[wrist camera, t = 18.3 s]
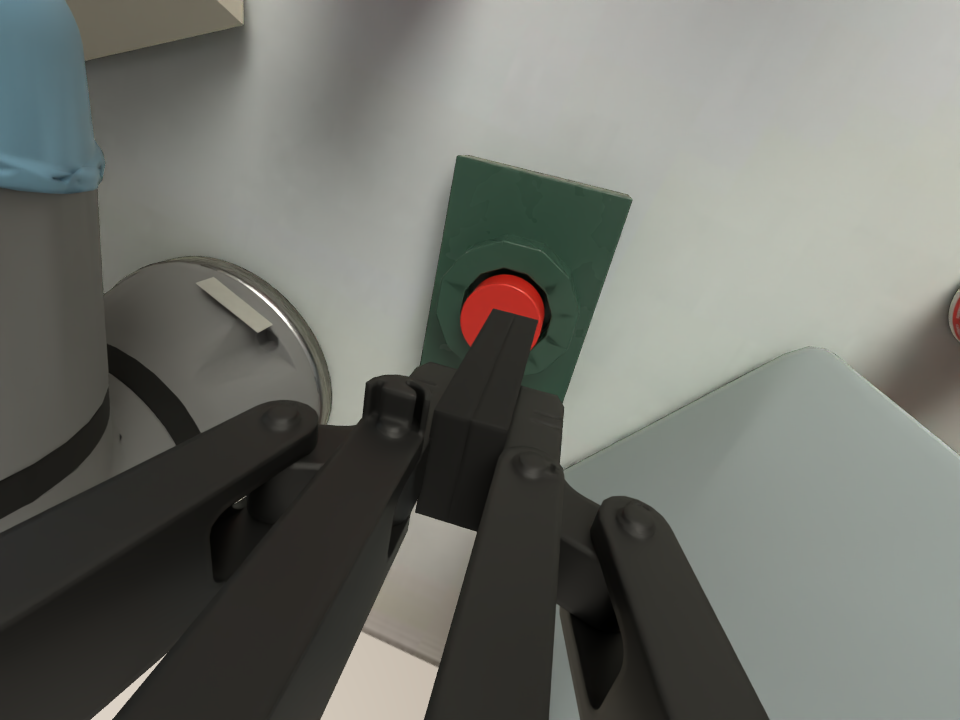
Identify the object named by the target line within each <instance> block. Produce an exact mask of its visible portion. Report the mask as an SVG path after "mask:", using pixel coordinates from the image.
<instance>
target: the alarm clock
mask: <svg viewBox="0 0 960 720" xmlns="http://www.w3.org/2000/svg"><path fill="white" fill-rule="evenodd" d="M563 472H564V476H565V478H564V479H565V480H566V481H567V483H568V484H569V485H570V486H571V487H572V488H573V489H574V490H576V491H577V492H578V493H580V494H581V495H583V496H585V497H586V498H588V499H590V500H592V501H594V502H595V503H597V504H599V505H601V504H602V502H603V500H605V499H607V498H609V497H611V496H627V497H631V498H634V499H638V500H640V501H642V502H644V503H646V504H647V505H649V506H651V507H652V508H654V509H655V510H656V511H657V512H658V513H660V514H661V515H662V516H663V517H664V518H665V520H666V521H667V523H668V524H669V525H670V527H671V529H672V530H673V532H674V534H675V536H676V538H677V540H678V542H679V544H680V546H681V548H682V550H683V552H684V554H685V556H686V558H687V560H688V562H689V564H690V565H691V567H692V569H693V571H694V573H695V575H696V577H697V579H698V581H699V583H700V585H701V587H702V589H703V591H704V593H705V595H706V597H707V599H708V600H709V602H710V604H711V606H712V608H713V610H714V612H715V614H716V616H717V618H718V620H719V622H720V624H721V626H722V628H723V630H724V632H725V634H726V635H727V637H728V639H729V641H730V643H731V645H732V647H733V649H734V651H735V653H736V655H737V657H738V659H739V661H740V663H741V665H742V667H743V669H744V670H745V672H746V674H747V676H748V678H749V680H750V682H751V684H752V686H753V688H754V690H755V692H756V694H757V696H758V698H759V700H760V702H761V704H762V705H763V707H764V709H765V711H766V713H767V715H768V717H769V719H770V720H960V455H959V454H957V453H956V452H955V451H954V450H952V449H951V448H950V447H949V446H948V445H946V444H945V443H944V442H943V441H941V440H940V439H939V438H938V437H937V436H935V435H934V434H933V433H932V432H930V431H929V430H928V429H927V428H925V427H924V426H923V425H922V424H921V423H919V422H918V421H917V420H916V419H914V418H913V417H912V416H911V415H909V414H908V413H907V412H906V411H904V410H903V409H902V408H901V407H900V406H898V405H897V404H896V403H895V402H893V401H892V400H891V399H890V398H888V397H887V396H886V395H885V394H883V393H882V392H881V391H880V390H878V389H877V388H876V387H875V386H873V385H872V384H871V383H870V382H869V381H867V380H866V379H865V378H864V377H862V376H861V375H860V374H859V373H858V372H856V371H855V370H854V369H853V368H852V367H850V366H849V365H848V364H847V363H845V362H844V361H843V360H842V359H841V358H839V357H838V356H837V355H836V354H834V353H832V352H830V351H829V350H827V349H825V348H817V347H809V346H808V347H805V348H802V349H798V350H795V351H792V352H789V353H786V354H783V355H782V356H780V357H778V358H776V359H774V360H772V361H770V362H768V363H766V364H764V365H763V366H761V367H759V368H757V369H755V370H753V371H751V372H749V373H747V374H746V375H744V376H742V377H740V378H738V379H736V380H734V381H732V382H730V383H729V384H727V385H725V386H723V387H721V388H719V389H717V390H715V391H713V392H711V393H709V394H708V395H706V396H704V397H702V398H700V399H698V400H696V401H694V402H692V403H690V404H689V405H687V406H685V407H683V408H681V409H679V410H677V411H675V412H673V413H671V414H670V415H668V416H666V417H664V418H662V419H660V420H658V421H656V422H654V423H652V424H651V425H649V426H647V427H645V428H643V429H641V430H639V431H637V432H635V433H633V434H632V435H630V436H628V437H626V438H624V439H622V440H620V441H618V442H616V443H614V444H613V445H611V446H609V447H607V448H605V449H603V450H601V451H599V452H597V453H596V454H594V455H592V456H590V457H588V458H586V459H584V460H582V461H580V462H579V463H577V464H575V465H573V466H571V467H569V468H567V469H565V470H563ZM559 607H560V606H559V605H558V604H556V616H555V632H554V647H553V663H552V678H551V694H550V709H549V720H580V717H579V712H578V707H577V702H576V697H575V691H574V686H573V681H572V676H571V671H570V666H569V661H568V656H567V650H566V645H565V640H564V635H563V630H562V625H561V620H560V615H559Z"/></svg>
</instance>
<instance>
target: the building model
mask: <svg viewBox="0 0 960 720" xmlns="http://www.w3.org/2000/svg"><path fill="white" fill-rule="evenodd" d="M65 1H66V3H67V5H68V6H69V8H70V10H71V12H72V14H73V16H74V19H75V21H76V23H77V26H78V28H79V31H80V35H81V39H82V43H83V50H84V59H85V61H87V60H91V59H96V58H100V57H105V56H109V55H113V54H118V53H122V52H127V51H131V50H136V49H140V48H144V47H149V46H153V45H158V44H162V43H167V42H171V41H175V40H180V39H184V38H189V37H193V36H198V35H202V34H206V33H211V32H215V31H220V30H224V29H229V28H233V27H237V26H242V25H244V19H243V0H65Z"/></svg>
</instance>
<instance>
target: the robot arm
mask: <svg viewBox="0 0 960 720" xmlns="http://www.w3.org/2000/svg"><path fill="white" fill-rule="evenodd" d="M104 168H105V159H104V155H103V152H102V150H101V148H100V147H99V145H98V144H97V143H96V141H95V140H94V134H93V125H92V117H91V109H90V100H89V92H88V84H87V75H86V67H85V59H84V50H83V43H82V39H81V35H80V31H79V28H78V26H77V23H76V21H75V19H74V16H73V14H72V12H71V10H70V8H69V6H68V5H67V3H66V1H65V0H0V720H91V719H92V718H93V717H94V716H95V715H96V714H97V713H98V712H100V711H101V710H102V709H103V708H104V707H106V706H107V705H108V704H109V703H110V702H111V701H112V700H113V699H115V698H116V697H117V696H118V695H119V694H120V693H122V692H123V691H124V690H125V689H126V688H127V687H129V686H130V685H131V684H132V683H133V682H134V681H135V680H136V679H138V678H139V677H140V676H141V675H142V674H143V673H145V672H146V671H147V670H148V669H149V668H150V667H152V666H153V665H154V664H155V663H156V662H157V661H158V660H160V659H161V658H162V657H163V656H164V655H165V654H166V653H167V654H166V655H165V657H164V658H163V659H162V660H161V661H160V663H159V664H158V665H157V666H156V668H155V669H154V670H153V671H152V672H151V674H150V675H149V676H148V677H147V678H146V680H145V681H144V682H143V683H142V684H141V686H140V687H139V688H138V689H137V691H136V692H135V693H134V694H133V695H132V697H131V698H130V699H129V700H128V701H127V703H126V704H125V705H124V706H123V707H122V709H121V710H120V711H119V712H118V713H117V715H116V716H115V717H114V718H113V719H112V720H320V719H321V717H322V715H323V712H324V710H325V708H326V706H327V704H328V701H329V699H330V697H331V695H332V693H333V691H334V689H335V686H336V684H337V682H338V680H339V678H340V675H341V673H342V671H343V669H344V667H345V665H346V663H347V660H348V658H349V656H350V654H351V651H352V650H353V647H354V645H355V643H356V641H357V639H358V637H359V635H360V632H361V630H362V628H363V626H364V624H365V622H366V619H367V617H368V615H369V613H370V611H371V609H372V606H373V604H374V602H375V600H376V598H377V596H378V593H379V591H380V589H381V587H382V585H383V583H384V580H385V578H386V576H387V574H388V572H389V570H390V567H391V565H392V563H393V561H394V559H395V557H396V554H397V552H398V550H399V548H400V546H401V544H402V541H403V539H404V537H405V535H406V533H407V531H408V525H409V520H410V514H411V511H412V509H413V507H414V505H415V503H416V501H417V505H416V511H415V513H419V514H422V515H425V516H428V517H431V518H435V519H438V520H441V521H444V522H447V523H451V524H454V525H457V526H460V527H464V528H467V529H470V530H473V531H476V532H477V535H476V539H475V542H474V546H473V549H472V553H471V556H470V560H469V563H468V567H467V570H466V574H465V577H464V581H463V584H462V588H461V591H460V595H459V598H458V602H457V605H456V609H455V612H454V616H453V620H452V623H451V627H450V630H449V634H448V637H447V641H446V644H445V648H444V651H443V655H442V658H441V662H440V665H439V669H438V672H437V676H436V679H435V683H434V686H433V690H432V693H431V697H430V700H429V704H428V708H427V711H426V714H425V718H424V720H549V709H550V694H551V678H552V663H553V647H554V632H555V616H556V604H558V605H559V606H560V607H559V615H560V620H561V625H562V630H563V635H564V640H565V645H566V650H567V656H568V661H569V666H570V671H571V676H572V681H573V686H574V691H575V697H576V702H577V707H578V712H579V717H580V720H770V719H769V717H768V715H767V713H766V711H765V709H764V707H763V705H762V704H761V702H760V700H759V698H758V696H757V694H756V692H755V690H754V688H753V686H752V684H751V682H750V680H749V678H748V676H747V674H746V672H745V670H744V669H743V667H742V665H741V663H740V661H739V659H738V657H737V655H736V653H735V651H734V649H733V647H732V645H731V643H730V641H729V639H728V637H727V635H726V634H725V632H724V630H723V628H722V626H721V624H720V622H719V620H718V618H717V616H716V614H715V612H714V610H713V608H712V606H711V604H710V602H709V600H708V599H707V597H706V595H705V593H704V591H703V589H702V587H701V585H700V583H699V581H698V579H697V577H696V575H695V573H694V571H693V569H692V567H691V565H690V564H689V562H688V560H687V558H686V556H685V554H684V552H683V550H682V548H681V546H680V544H679V542H678V540H677V538H676V536H675V534H674V532H673V530H672V529H671V527H670V525H669V524H668V523H667V521H666V520H665V518H664V517H663V516H662V515H661V514H660V513H658V512H657V511H656V510H655V509H654V508H652V507H651V506H649V505H647V504H646V503H644V502H642V501H640V500H638V499H634V498H631V497H627V496H611V497H609V498H607V499H605V500H603V502H602V504H601V505H599V504H597V503H595V502H594V501H592V500H590V499H588V498H586V497H585V496H583V495H581V494H580V493H578V492H577V491H576V490H574V489H573V488H572V487H571V486H570V485H569V484H568V483H567V481H566V480H565V479H564V478H565V476H564V472H563V468H562V466H561V465H560V455H561V442H562V428H563V416H564V406H563V404H562V403H561V401H560V399H559V398H558V396H557V395H554V394H550V393H547V392H543V391H540V390H536V389H532V388H529V387H525V386H521V383H522V379H523V375H524V372H525V368H526V364H527V361H528V357H529V353H530V349H531V346H532V342H533V338H534V335H535V331H536V327H537V324H538V320H536V319H533V318H529V317H525V316H521V315H517V314H513V313H510V312H506V311H502V310H498V309H494V308H493V309H492V311H491V313H490V314H489V316H488V318H487V320H486V321H485V323H484V325H483V326H482V328H481V330H480V332H479V333H478V335H477V337H476V338H475V340H474V342H473V344H472V345H471V347H470V349H469V351H468V352H467V354H466V356H465V357H464V359H463V361H462V363H461V364H460V366H459V368H458V369H455V368H451V367H448V366H444V365H440V364H437V363H433V362H428V363H426V364H423V365H421V366H419V367H416V369H415V370H414V371H413V373H412V374H411V375H410V376H409V377H407V376H401V375H382V376H378V377H374V378H372V379H371V380H369V381H368V382H366V387H365V397H364V407H363V416H362V419H361V420H360V421H359V422H358V424H357V425H354V426H334V425H326V424H327V422H328V418H329V414H330V409H331V394H332V393H331V382H330V376H329V371H328V368H327V364H326V361H325V358H324V355H323V353H322V350H321V348H320V346H319V344H318V342H317V340H316V338H315V336H314V334H313V333H312V331H311V329H310V328H309V326H308V325H307V323H306V322H305V320H304V319H303V318H302V316H301V315H300V314H299V313H298V311H297V310H296V309H295V308H294V307H293V306H292V304H291V303H290V302H289V301H288V300H287V299H286V298H285V297H284V296H283V295H281V294H280V293H279V292H278V291H277V290H276V289H275V288H273V287H272V286H271V285H270V284H268V283H267V282H266V281H264V280H262V279H261V278H259V277H258V276H256V275H255V274H253V273H251V272H249V271H247V270H246V269H244V268H241V267H239V266H237V265H235V264H232V263H229V262H226V261H223V260H219V259H215V258H210V257H202V256H186V257H178V258H174V259H170V260H166V261H162V262H158V263H154V264H150V265H148V266H145V267H142V268H140V269H139V270H137V271H135V272H133V273H131V274H129V275H128V276H126V277H124V278H123V279H122V280H120V281H119V282H118V283H117V284H116V285H115V286H114V287H113V288H112V289H111V290H110V291H109V292H107V293H106V294H104V295H103V277H102V260H101V242H100V224H99V207H98V189H97V188H98V185H99V184H100V183H101V181H102V178H103V174H104ZM244 496H246V497H245V498H244V499H242V500H241V501H239V502H237V501H238V500H240V499H241V498H243V497H244ZM417 499H418V500H417ZM236 502H237V503H236ZM234 503H235V504H234Z"/></svg>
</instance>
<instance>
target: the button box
mask: <svg viewBox="0 0 960 720" xmlns="http://www.w3.org/2000/svg"><path fill="white" fill-rule="evenodd" d="M631 203H632V198H631V197H630V196H629V195H628V194H624V193H620V192H616V191H612V190H608V189H604V188H599V187H595V186H591V185H587V184H583V183H579V182H575V181H571V180H567V179H563V178H559V177H555V176H551V175H547V174H543V173H539V172H535V171H531V170H527V169H523V168H519V167H515V166H510V165H506V164H502V163H498V162H494V161H490V160H486V159H482V158H478V157H474V156H470V155H458V156H457V159H456V164H455V170H454V176H453V181H452V187H451V193H450V198H449V204H448V210H447V215H446V221H445V226H444V232H443V238H442V243H441V249H440V255H439V260H438V266H437V272H436V277H435V283H434V289H433V294H432V300H431V306H430V311H429V317H428V323H427V328H426V334H425V340H424V345H423V351H422V357H421V362H420V366H421V365H423V364H426V363H428V362H433V363H437V364H440V365H444V366H448V367H451V368H455V369H458V368H459V366H460V364H461V363H462V361H463V359H464V357H465V356H466V354H467V352H468V351H469V349H470V345H469V344H468V343H467V341H466V340H465V338H464V336H463V333H462V330H461V325H460V315H461V310H462V307H463V305H464V303H465V301H466V299H467V298H468V297H469V296H470V294H471V293H472V292H473V291H474V290H475V288H476V287H477V286H478V285H479V284H480V283H481V282H483V281H484V280H485V279H487V278H489V277H492V276H495V275H501V274H508V275H514V276H518V277H520V278H522V279H524V280H526V281H528V282H529V283H530V284H531V285H533V286H534V288H535V289H536V290H537V291H538V293H539V294H540V296H541V298H542V301H543V304H544V312H545V314H544V321H543V325H542V329H541V333H540V336H539V339H538V341H537V343H536V344H535V346H534V347H533V348H532V349H531V350H530V353H529V357H528V361H527V364H526V368H525V372H524V375H523V379H522V383H521V386H525V387H529V388H532V389H536V390H540V391H543V392H547V393H550V394H554V395H557V396H558V398H559V399H560V401H561V403H563V400H564V397H565V394H566V391H567V389H568V386H569V383H570V380H571V377H572V374H573V371H574V368H575V365H576V362H577V360H578V357H579V354H580V351H581V348H582V345H583V342H584V339H585V336H586V333H587V331H588V328H589V325H590V322H591V319H592V316H593V313H594V310H595V307H596V305H597V302H598V299H599V296H600V293H601V290H602V287H603V284H604V281H605V278H606V276H607V273H608V270H609V267H610V264H611V261H612V258H613V255H614V252H615V249H616V247H617V244H618V241H619V238H620V235H621V232H622V229H623V226H624V223H625V221H626V218H627V215H628V212H629V209H630V206H631Z"/></svg>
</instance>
